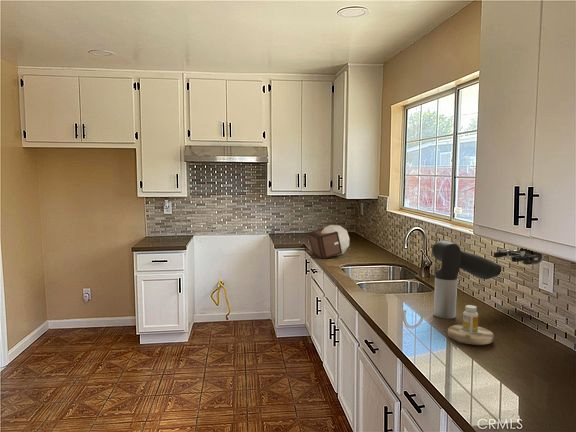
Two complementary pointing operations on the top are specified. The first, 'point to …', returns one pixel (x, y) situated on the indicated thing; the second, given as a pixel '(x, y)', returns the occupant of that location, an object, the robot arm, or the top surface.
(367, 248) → the top surface
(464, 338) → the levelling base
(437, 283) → the robot arm
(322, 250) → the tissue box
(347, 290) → the top surface
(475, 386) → the top surface
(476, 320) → the supplement bottle
